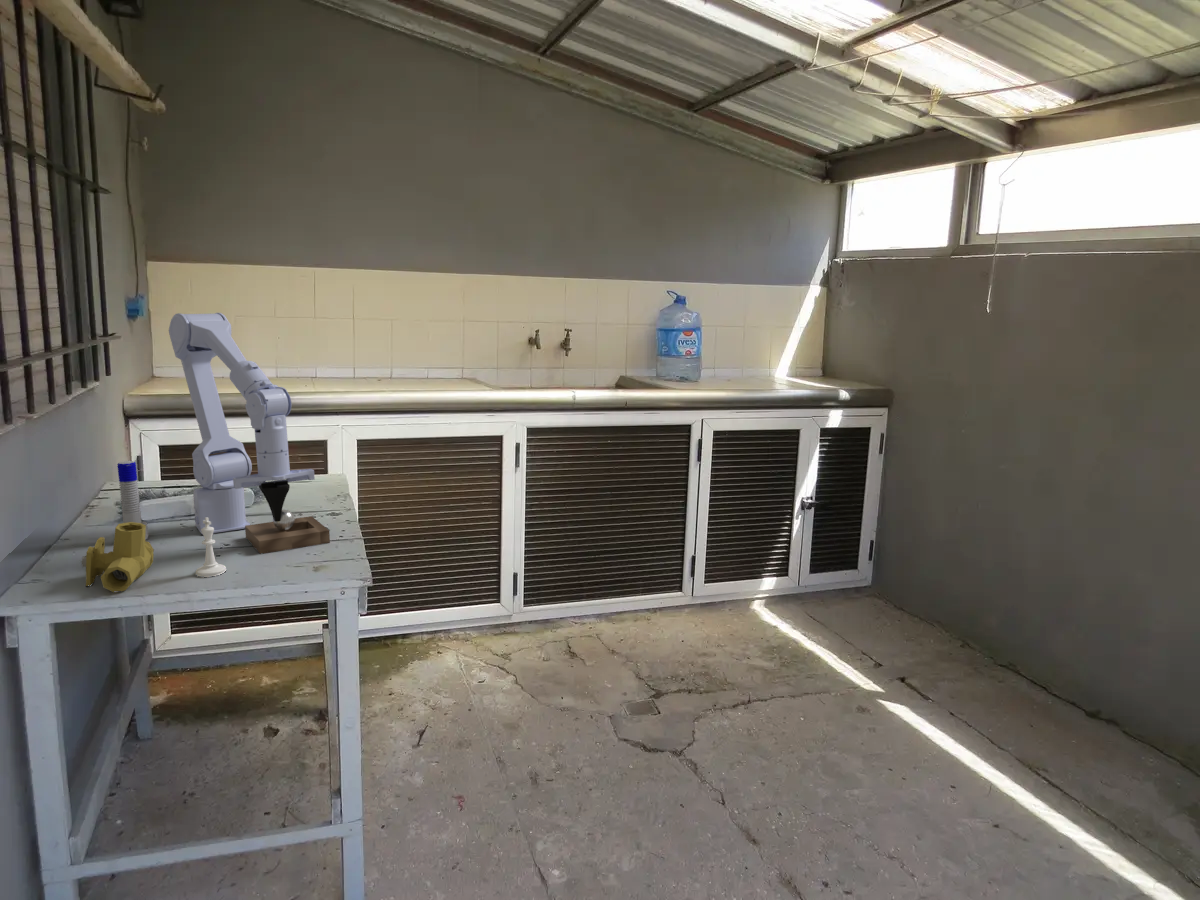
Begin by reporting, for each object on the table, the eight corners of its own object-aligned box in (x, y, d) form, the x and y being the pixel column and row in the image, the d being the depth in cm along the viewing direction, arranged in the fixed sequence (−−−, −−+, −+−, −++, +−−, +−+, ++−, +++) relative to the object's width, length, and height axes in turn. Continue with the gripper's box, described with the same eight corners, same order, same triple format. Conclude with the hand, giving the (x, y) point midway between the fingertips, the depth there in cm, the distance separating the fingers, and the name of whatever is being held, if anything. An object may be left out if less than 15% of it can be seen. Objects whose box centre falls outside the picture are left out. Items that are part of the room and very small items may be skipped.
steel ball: (274, 514, 156) (296, 515, 158) (273, 505, 159) (295, 506, 161) (271, 533, 157) (293, 534, 159) (271, 524, 160) (292, 525, 162)
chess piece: (206, 579, 139) (201, 523, 137) (189, 574, 141) (184, 518, 139) (232, 571, 143) (228, 516, 141) (215, 566, 145) (211, 512, 143)
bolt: (142, 543, 157) (114, 544, 157) (153, 536, 162) (126, 536, 162) (134, 465, 154) (106, 465, 154) (145, 459, 159) (118, 459, 159)
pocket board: (260, 554, 152) (259, 541, 152) (245, 537, 162) (245, 525, 161) (329, 542, 160) (329, 530, 159) (312, 527, 169) (311, 516, 169)
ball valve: (157, 570, 145) (94, 566, 143) (159, 516, 143) (96, 511, 140) (135, 600, 133) (66, 597, 131) (137, 542, 131) (67, 537, 129)
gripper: (236, 457, 148) (242, 530, 150) (316, 449, 156) (321, 518, 158) (228, 453, 154) (234, 523, 156) (306, 445, 162) (311, 512, 164)
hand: (278, 520), depth 158 cm, fingers closed, pressing on steel ball
